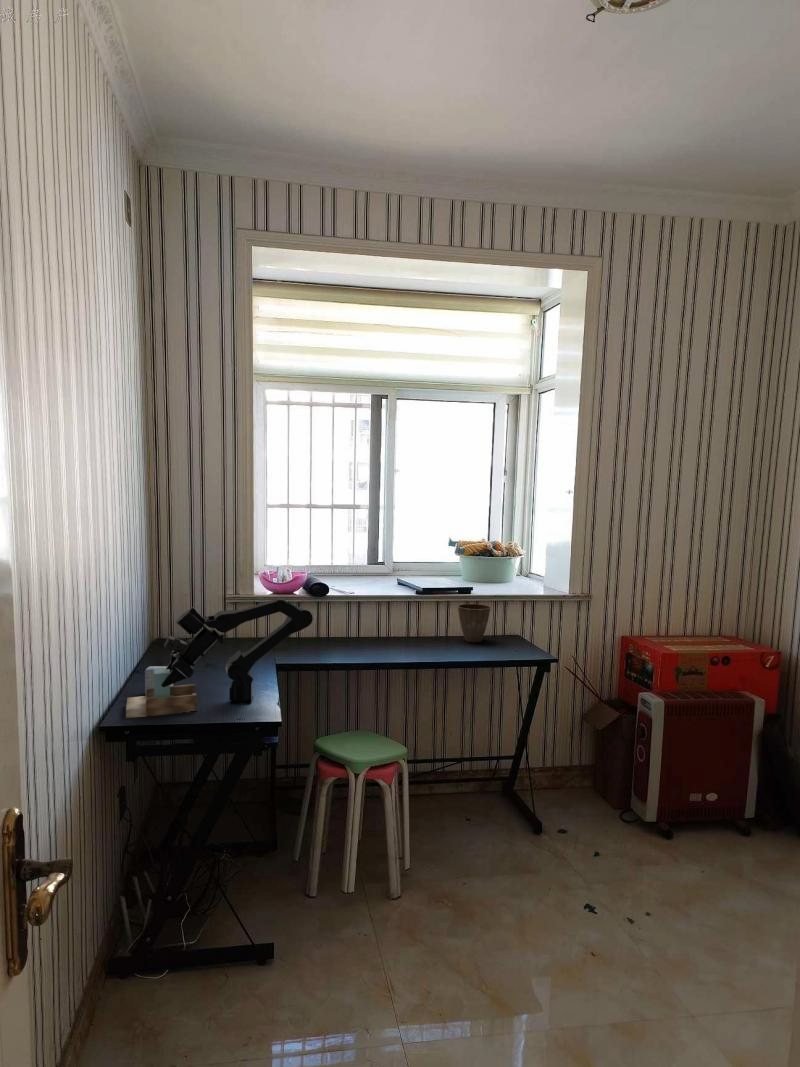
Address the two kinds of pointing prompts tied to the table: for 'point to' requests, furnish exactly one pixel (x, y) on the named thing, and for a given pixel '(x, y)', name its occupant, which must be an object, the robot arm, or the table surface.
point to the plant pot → (473, 621)
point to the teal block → (158, 680)
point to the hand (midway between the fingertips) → (162, 682)
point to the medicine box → (151, 676)
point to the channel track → (163, 702)
